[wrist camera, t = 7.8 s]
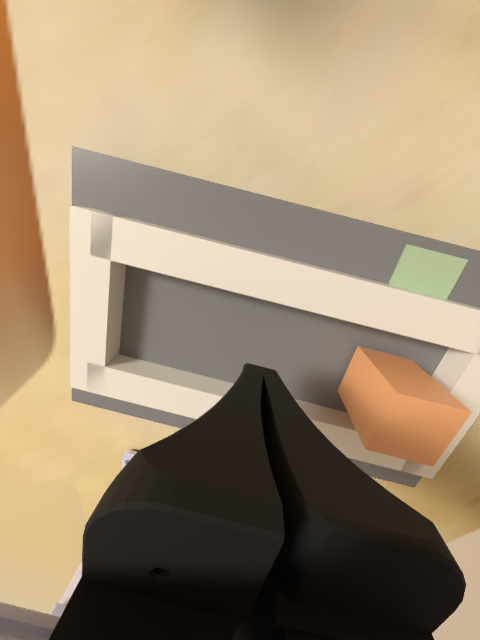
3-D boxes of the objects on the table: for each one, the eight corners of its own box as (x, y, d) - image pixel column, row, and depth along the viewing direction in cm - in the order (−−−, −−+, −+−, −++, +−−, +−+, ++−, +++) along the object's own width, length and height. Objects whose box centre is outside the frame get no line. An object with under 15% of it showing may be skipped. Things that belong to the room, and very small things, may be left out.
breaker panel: (395, 456, 19) (427, 510, 16) (94, 379, 19) (54, 416, 16) (514, 265, 14) (605, 278, 10) (103, 159, 14) (45, 134, 10)
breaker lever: (387, 403, 15) (432, 466, 11) (337, 390, 15) (365, 449, 11) (410, 359, 14) (471, 412, 10) (357, 345, 14) (397, 393, 10)
